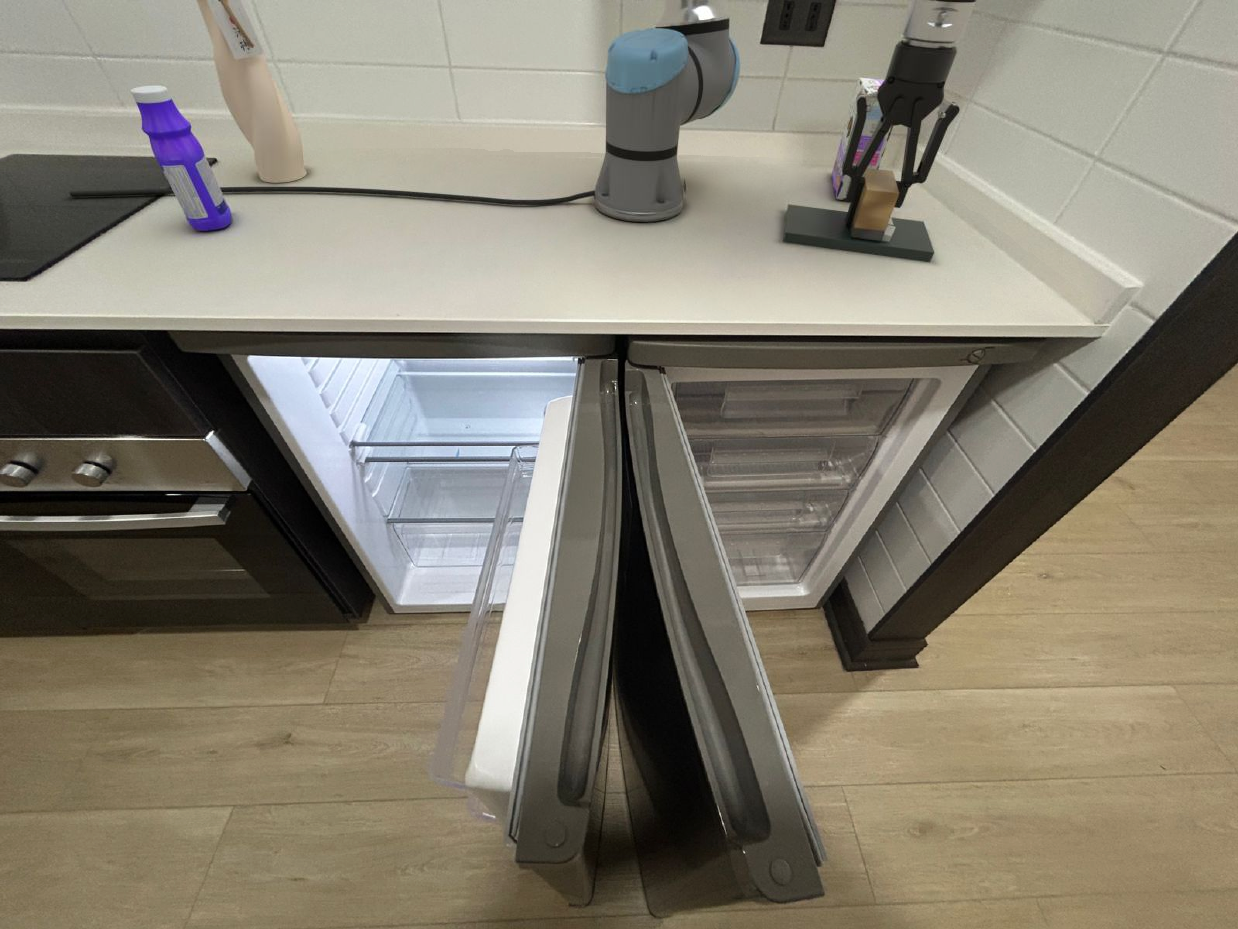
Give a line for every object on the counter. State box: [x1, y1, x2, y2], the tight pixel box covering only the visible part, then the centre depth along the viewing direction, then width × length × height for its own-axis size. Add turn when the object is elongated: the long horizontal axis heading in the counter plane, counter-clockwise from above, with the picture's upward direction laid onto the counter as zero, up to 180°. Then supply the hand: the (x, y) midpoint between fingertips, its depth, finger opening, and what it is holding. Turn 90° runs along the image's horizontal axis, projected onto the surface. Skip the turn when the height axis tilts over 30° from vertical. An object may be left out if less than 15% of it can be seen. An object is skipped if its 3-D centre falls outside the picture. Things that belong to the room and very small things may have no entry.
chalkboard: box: [783, 203, 935, 263], centre depth 89 cm, size 22×12×2 cm, turn 76°
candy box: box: [830, 77, 894, 201], centre depth 98 cm, size 14×6×16 cm, turn 168°
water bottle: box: [196, 0, 308, 184], centre depth 89 cm, size 10×9×28 cm
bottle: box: [130, 85, 233, 232], centre depth 78 cm, size 7×6×17 cm
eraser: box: [850, 168, 899, 241], centre depth 85 cm, size 4×10×7 cm, turn 165°
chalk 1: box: [887, 216, 894, 226], centre depth 88 cm, size 4×1×1 cm, turn 168°
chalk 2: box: [882, 225, 896, 242], centre depth 85 cm, size 4×1×1 cm, turn 151°
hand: (864, 224), depth 87 cm, fingers closed on eraser, 4 cm apart
